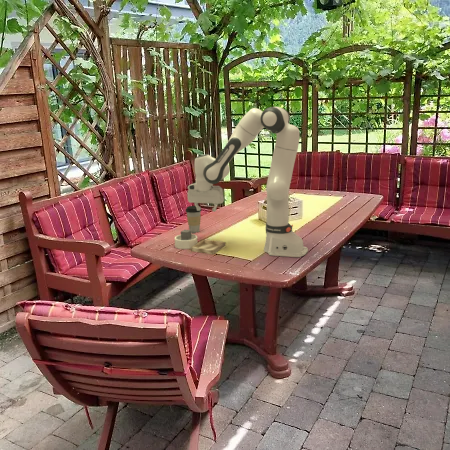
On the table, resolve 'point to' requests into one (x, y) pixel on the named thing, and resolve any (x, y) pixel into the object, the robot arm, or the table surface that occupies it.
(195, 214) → the coffee cup
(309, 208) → the table surface
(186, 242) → the bowl
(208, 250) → the parts tray
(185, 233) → the charcoal cube
